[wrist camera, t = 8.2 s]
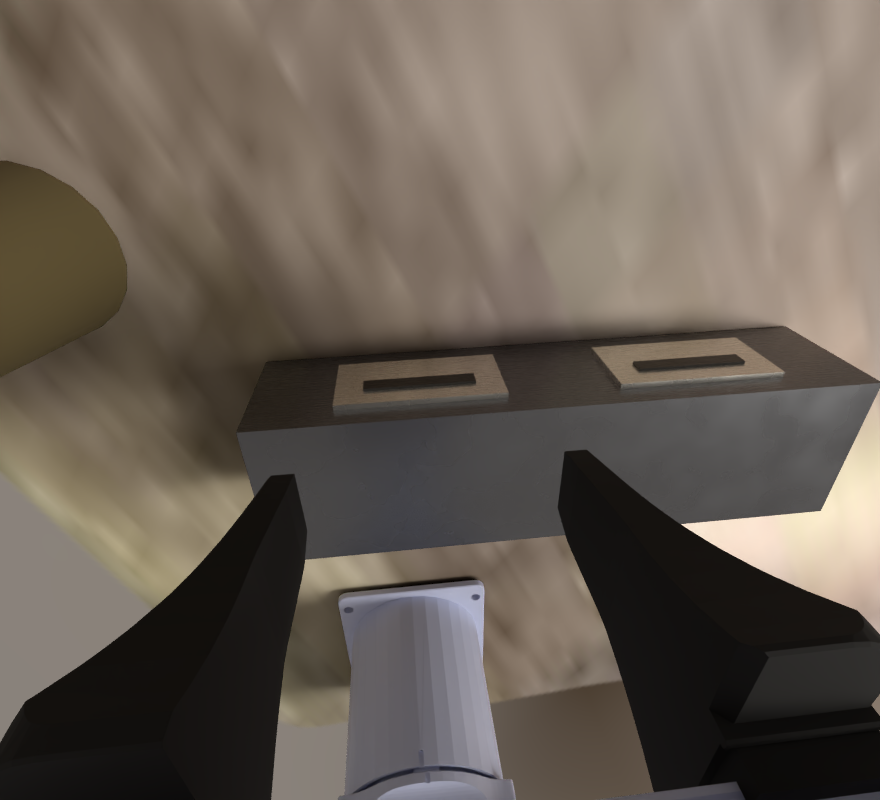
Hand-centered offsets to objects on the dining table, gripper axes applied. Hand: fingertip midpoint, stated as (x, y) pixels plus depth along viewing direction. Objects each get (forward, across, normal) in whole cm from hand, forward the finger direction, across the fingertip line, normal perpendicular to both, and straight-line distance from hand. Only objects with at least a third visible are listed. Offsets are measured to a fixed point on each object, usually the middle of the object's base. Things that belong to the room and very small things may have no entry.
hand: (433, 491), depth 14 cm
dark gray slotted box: (+8, -5, +3) cm, 10 cm away
